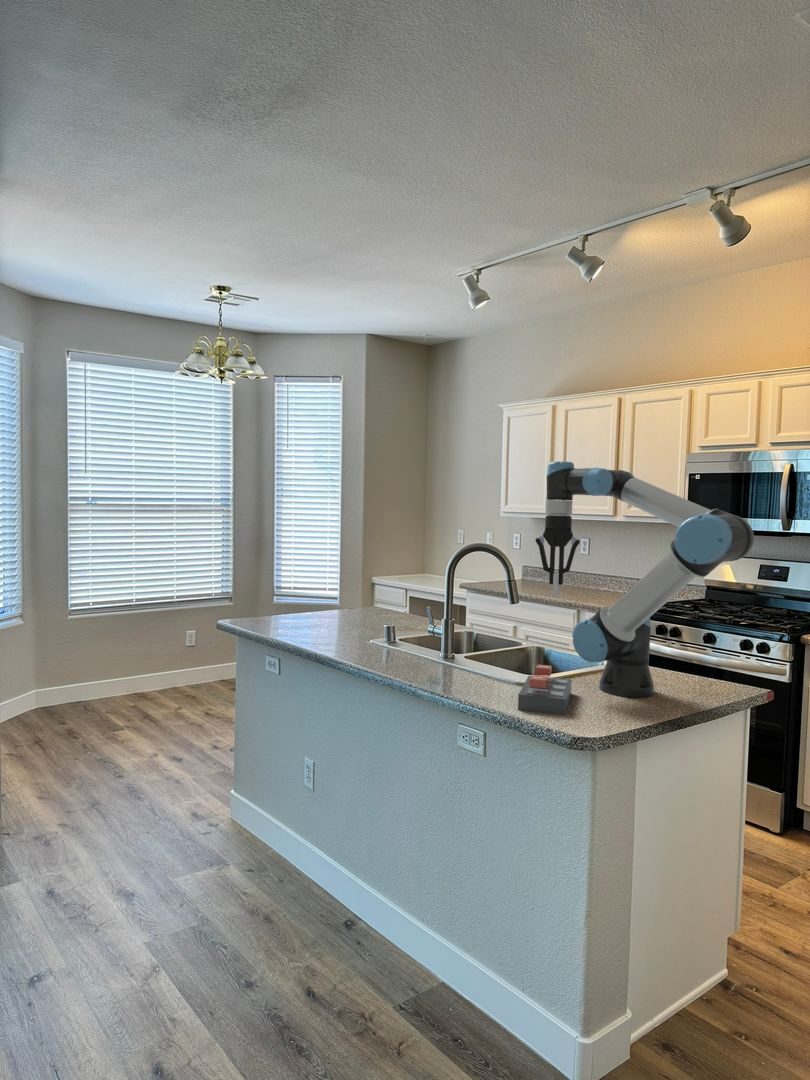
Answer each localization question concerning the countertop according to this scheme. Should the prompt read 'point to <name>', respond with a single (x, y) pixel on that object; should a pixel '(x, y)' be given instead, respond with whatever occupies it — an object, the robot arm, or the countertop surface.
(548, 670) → the button
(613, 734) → the countertop surface
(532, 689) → the dark grey flat block
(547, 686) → the button
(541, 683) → the button
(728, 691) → the countertop surface
